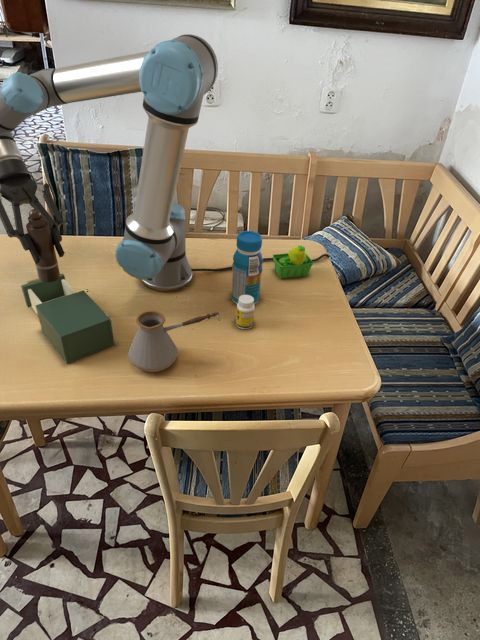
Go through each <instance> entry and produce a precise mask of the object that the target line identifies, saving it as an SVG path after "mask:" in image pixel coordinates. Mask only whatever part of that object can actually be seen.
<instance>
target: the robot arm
mask: <svg viewBox="0 0 480 640" xmlns="http://www.w3.org/2000/svg"><path fill="white" fill-rule="evenodd" d="M218 74H219V61H218V59H217V55H216V52H215V50H214V49H213V47H212V46H211V44H210V43H209V42H208V41H206V39H204V38H202V37H201V36H199V35H196V34H190V33H189V34H188V33H187V34H181V35H179V36H177V37H174V38H172V39H167V40H163V41H160V42H159V43H157V44H155V45H154V46H153V47H152V48H151V49H150V50H147V51H142V52H137V53H131V54H126V55H120V56H115V57H110V58H106V59H105V58H104V59H99V60H93V61H88V62H83V63H78V64H77V63H76V64H72V65H66V66H62V67H56V68H43V69H40V70H38V71H36V72H33V73H31V74H27V73H22V72H21V71H15V72H13V73H12V74H11V75H10V76H8V77H6V78H5V79H3V81H2V83H1V84H0V221H1V223H2V225H3V228H4V231H5V232H6V235H7V237H9V238H11V239H12V238H17V239H18V240H19V243H20V245H21V246H22V249H23V250H24V251H29V253H30V255H31V257H32V259H33V262H34V265H35V264H38V263H39V261H40V258H39V256H38V254H37V251H36V249H35V247H34V245H33V243H32V241H31V238H30V236H29V234H28V233H25V231H24V225H23V217H22V212H21V207H20V206H22V205H30V207H31V208H33V209H37V210H39V211H40V212H41V215H43V216H44V219H45V221H47V222H48V223H49V225H50V230H51V234H52V239H53V243H54V248H55V252H56V254H58V257H59V258H63V257H64V255H65V251H64V248H63V246H62V244H61V242H62V241H63V235H62V234H61V232H60V230H59V228H60V227H61V226H62V224H63V221H64V220H63V217H62V215H61V213H60V211H59V209H58V207H57V205H56V203H55V200H54V198H53V196H52V194H51V188H50V184H49V183H47V182H46V183H44V184H37V182H36V181H35V180H34V179H33V178H32V175H31V173H30V171H29V169H28V167H27V165H26V162H25V161H24V158H23V156H22V154H21V151H20V149H19V147H18V145H17V143H16V141H15V139H14V136H13V134H12V132H13V131H15V130H16V129H17V128H18V127H19V126H20V125H21V124H22V123H23V122H25V120H27V119H28V118H30V117H32V116H34V115H36V114H39V113H41V112H43V111H45V110H48V109H50V108H52V107H58V106H63V105H68V104H73V103H78V102H85V101H91V100H92V101H93V100H97V99H104V98H105V99H106V98H111V97H117V96H124V95H130V94H138V93H143V100H142V109H143V110H144V112H145V113H146V115H147V124H146V131H145V137H144V143H143V150H142V157H141V163H140V171H139V177H138V183H137V190H136V197H135V203H134V210H133V213H131V214H129V215H128V216H127V217H126V220H125V225H124V233H123V238H122V240H121V241H120V242H119V243H118V244H117V246H116V249H115V254H114V255H115V259H116V260H115V261H116V262H117V264H118V266H119V267H120V268H122V271H124V273H126V274H127V275H129V277H133V278H135V279H138V280H140V283H141V284H142V285H143V286H144V287H146V288H147V289H149V290H152V291H155V292H160V293H170V292H171V293H173V292H177V291H180V290H183V289H185V288H187V287H188V286H189V285H190V284H191V283H192V280H193V272H222V271H228V270H232V265H231V266H226V267H221V268H191V265H190V263H189V260H188V257H187V254H186V253H187V252H186V251H187V250H186V246H187V245H186V220H187V218H186V211H185V208H184V207H183V206H181V204H178V203H177V202H174V201H175V196H176V191H177V186H178V182H179V177H180V173H181V167H182V164H183V163H182V162H183V159H184V158H183V157H184V153H185V148H186V144H187V139H188V134H189V129H190V128H192V127H194V126H195V125H197V124H198V122H199V118H200V113H201V108H202V104H203V99H204V96H205V95H206V94H207V93H208V92H210V90H211V89H212V88H213V86H214V85H215V83H216V81H217V78H218ZM37 191H38V192H39V194H40V195H42V196H43V200H44V202H45V204H46V206H47V208H48V211H49V212H48V211H47V210H46V208H45V206H43V205H42V203H41V202H40V201H39V198H38V196H36V193H37ZM2 198H3V199H5V200H6V201H8V202H9V203H10V204H11V209H12V213H13V218H14V225H15V226H13V225H12V222H11V220H10V218H9V216H8V213H7V211H6V208H5V206H4V204H3V199H2ZM14 227H15V229H14ZM325 257H327V258H331V256H330V254H329V253H322V254H321V255H320V256H318V257H317V258H314V259H311V260H312V261H313V263H314V262H317V261H319V260H321V259H322V258H325ZM266 261H274V260H273V257H263V262H266Z"/></svg>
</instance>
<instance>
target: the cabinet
mask: <svg viewBox="0 0 480 640" xmlns="http://www.w3.org/2000/svg"><path fill="white" fill-rule="evenodd" d="M76 292H77V293H73V294H70V295H67V296H64V297H61V298H58V299H54V300H51V301H48V302H45V303H42V304H38V305H36V309H37V313H38V315H37V316H38V321H39V324H40V328H41V332H42V333H43V335H44V336H45V337H46V339H47V340H48V341H49V343H50V344H51V345H52V346H53V348H54V349H55V350H56V352H57V353H58V355H60V357H61V358H62V359H63V361H64V363H66V364H70V363H72V362H75V361H78V360H80V359H83V358H85V357H88V356H90V355H92V354H95V353H98V352H100V351H103V350H106V349H108V348H111V347H114V346H115V340H114V339H115V338H114V333H113V332H114V331H113V325H112V319H111V317H110V316H109V315H108V314H107V313H106V312H105V311H104V310H103V309H102V308H101V307H100V306H99V305H98V304H97V303H96V302H95V301H94V299H92V298H91V296H89V294H88V293H87V292H86V291H85V290H80V291H76ZM37 313H36V314H37Z"/></svg>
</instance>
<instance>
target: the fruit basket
mask: <svg viewBox="0 0 480 640" xmlns="http://www.w3.org/2000/svg"><path fill="white" fill-rule="evenodd" d="M272 258H273V260H272V261H273V265H274V271H275V272H276V274H277V275H278V276H279V277H280V279H287V278H289V279H290V278H297V277H298V278H299V277H305V276H307V275H308V273H309V271H310V270H311V267H313V265H314V262H313V261H312V260H313V259H312V258H311V257H310V256H309V255H308V254H307V253H306V247H305V246H303V245H301V244H299V245H297V246H294V247H291V248H290V249H289V250H288V252H286V253H278V254H277V253H276V254H272Z"/></svg>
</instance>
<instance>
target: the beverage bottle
mask: <svg viewBox="0 0 480 640" xmlns="http://www.w3.org/2000/svg"><path fill="white" fill-rule="evenodd" d="M262 246H263V236H262V234H260V233H259V232H257V231H254V230H244V231H243V230H242V231H240V232H239V233H238V234H237V236H236V250H235V251H234V254H233V256H232V260H233V261H232V264H231V266H232V269H231V271H232V278H231V279H232V281H231V292H230V298H231V301H232V302H233V303H234V304H236V305H237V304H238V300H239V297H240V296H241V295H250V296H252V297H253V298H254V305H256V304H257V303H258V302H259V300H260V289H261V280H262V274H263V269H264V267H263V262H264V261H263V258H264V257H263V253H262V252H261V249H262Z"/></svg>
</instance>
